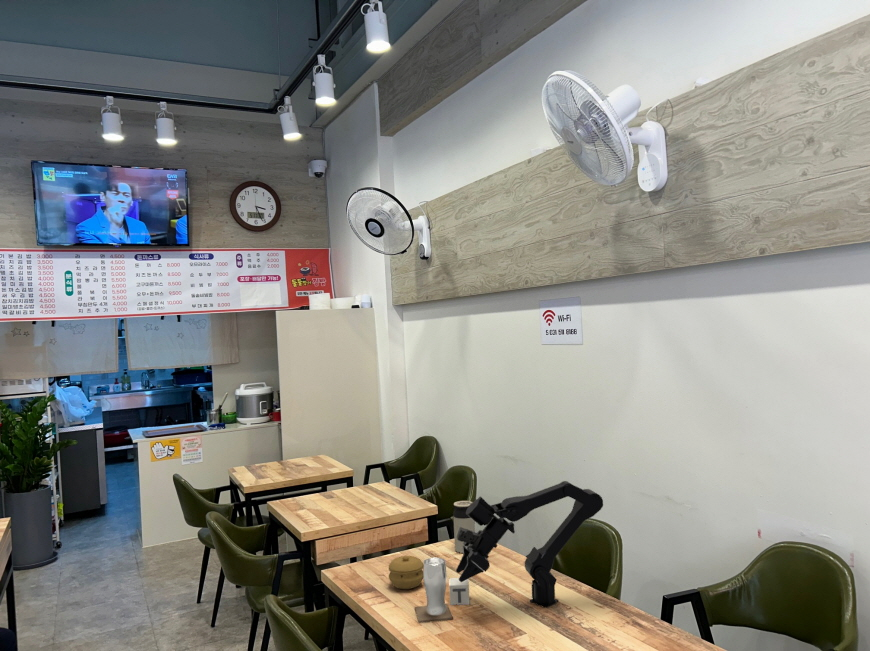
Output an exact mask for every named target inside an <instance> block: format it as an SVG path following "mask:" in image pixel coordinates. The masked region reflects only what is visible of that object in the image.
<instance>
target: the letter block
mask: <svg viewBox="0 0 870 651" xmlns="http://www.w3.org/2000/svg"><path fill="white" fill-rule="evenodd" d="M459 578H460V577H453V578H452V577H450V578H449V580H448V581H449V582H448V584H449V585H448V586H449V589H448V592H449V593H448V594H449V606H460V605H461V606H463V605H470V583H469V582H470V581H469V579H470V578H469V579H467V580H465V581H463V582H460V581H459ZM456 604H457V605H456Z"/></svg>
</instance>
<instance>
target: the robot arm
mask: <svg viewBox="0 0 870 651" xmlns="http://www.w3.org/2000/svg"><path fill="white" fill-rule="evenodd" d="M564 498H571V499H572V500H574V503H573V506H572V508H571V511H570V512H569V514H568V515H567V516H566V518H565V519H564V520H563V521H562V523H561V524H560V525H559V526H558V527H557V529H556V530H555V532H554V533H553V534H552V535H551V536H550V537H549V539H548V540H547V541H546V542H545V544H544V545H542V547H540V548H538V549H537V548H536V546H533V547H532V549H531V551H530V552H529V553H527V555H525V560H524V568H525V570H526V572H527V574H529V576H530V577H531V578H532V580H531V581H532V582H531V599H529V603H532V604H533V605H537V606H539V605H540V606H539V607H542V606H543V607H542V608H545V607H546V608H549V607H550V605H551V606H553V605H555V604H557V603H559V600H560V599H557V598H556V592H555V591H556V589H555V588H556V587H555V586H556V583H557V578H556V577H555V576H554V574H553V573H551V570H552V569H553V566H554V563H555V559H556V557H557V556H558V554H559V553H560V552H561V551H562V550H563V548H564V547H565V546H566V544H567V543H568V542H569V541H570V539H571V538H572V537H573V536H574V535H575V533H577V530H578V529H579V528H580V527H581V526H582V525H583V523H584V522H586V521H587V520H589V519H590V518H592V517H594V516H595V515H597V513H599V512H600V511H601V510H602V509H603V507H604V500H603V497H602V496H601V495H600V494H598V493H597V492H595V491H594V490H592V489H591V488H586V489H585V488H584V489H582V488H580V487H578V486H576V485H574V484H572V483H570V482H569V481H568V480H562V481H561V482H560V483H557V484H554V485H552V486H549V487H547V488H544V489H541V490H539V491H537V492H533V493H530V494H528V495H521V496H520V495H519V496H518V495H517V496H513V497H507V498H504V499H503V500H502V502H498V503H494V504H489V502H487V500H485V499H484V497H482V496H478V498H477V499H475V500H474V501H472V502H473V503H471V504H470V505H469V507H468V508H467V510H466V514H467V515H468V516H469V517H470V518H471V519H473V520H474V521H475V524H478V525H479V526H480V527H481V526H485V527H484V528H483V529H482V530H481V529H480V530H478V531H477V532H476V531H475V532H473V531H470V530H468V529H465V528H462V527H460V528H459V531H458V534H457V540H459V541H461V542H462V541H463V542H464V543H463V544H464V546H463V552H464V553H462V554H463V555H462V556H461V559H460V561H459V563H458V565H457V567H456V568H455V572H456V573H457V574H460V573H461V574H460V576H459V577H458V578H459V581H460V582H463V581H465V580H467V579H471V578H472V577H475V576H477V575H479V574H482V573H484V572H487V571H488V569H490V567H491V566H490V560H489V554H490V553H491V552H492V550H493V549H494V548H495V549H496V548H497V547H498V543H499V542H500V540H501V539H502V538H503V537H504V535H505V534H506V533H507V531H509V532H511V533H512V534H515V524H514V522H518V521H519V520H521V519H523V518H525V517H527V515H529V513H531V512H532V511H534V510H536V509H538V508H541V507H543V506H546V505H549V504H551V503H554V502H556V501H559V500H562V499H564ZM507 520H508V521H507ZM509 521H510V522H509ZM465 546H466V547H465Z"/></svg>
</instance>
